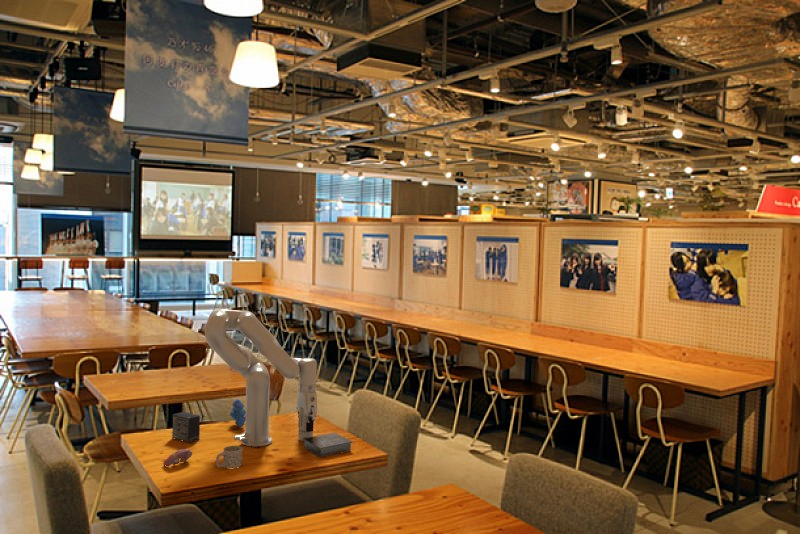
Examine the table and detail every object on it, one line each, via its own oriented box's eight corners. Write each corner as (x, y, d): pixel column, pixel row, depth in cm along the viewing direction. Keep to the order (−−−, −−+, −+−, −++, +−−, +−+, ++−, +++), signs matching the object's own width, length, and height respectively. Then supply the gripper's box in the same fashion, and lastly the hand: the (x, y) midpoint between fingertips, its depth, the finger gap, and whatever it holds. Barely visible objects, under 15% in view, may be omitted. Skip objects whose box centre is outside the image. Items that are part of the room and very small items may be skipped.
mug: (236, 461, 244) (236, 444, 243) (244, 466, 239) (245, 449, 239) (211, 467, 237) (212, 449, 237) (220, 472, 232) (220, 454, 232)
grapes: (224, 424, 292) (224, 398, 291) (238, 422, 296) (238, 396, 295) (234, 430, 283) (235, 404, 282) (249, 428, 287) (249, 402, 286)
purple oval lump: (168, 472, 235) (174, 457, 233) (161, 465, 237) (167, 450, 235) (190, 465, 243) (196, 450, 241) (183, 457, 245) (188, 443, 243)
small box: (200, 439, 269) (201, 415, 269) (188, 443, 264) (188, 418, 263) (184, 435, 275) (184, 411, 274) (171, 438, 269) (171, 414, 269)
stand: (320, 457, 250) (320, 447, 250) (302, 448, 261) (303, 438, 261) (352, 451, 259) (352, 441, 259) (334, 442, 270) (334, 432, 270)
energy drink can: (295, 438, 273) (296, 404, 272) (308, 436, 277) (309, 402, 276) (302, 442, 268) (303, 407, 268) (315, 440, 272) (316, 405, 271)
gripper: (325, 390, 267) (323, 433, 268) (305, 382, 281) (303, 423, 281) (309, 392, 262) (307, 436, 263) (289, 384, 276) (288, 425, 277)
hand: (305, 428), depth 272 cm, fingers closed on energy drink can, 6 cm apart
